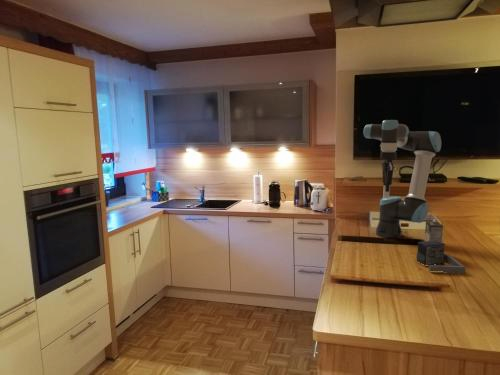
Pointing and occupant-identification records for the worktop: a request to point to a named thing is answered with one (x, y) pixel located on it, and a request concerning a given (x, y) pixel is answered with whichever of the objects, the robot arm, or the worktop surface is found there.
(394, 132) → the robot arm
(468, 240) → the worktop surface
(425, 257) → the small box
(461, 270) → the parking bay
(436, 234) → the coffee box
